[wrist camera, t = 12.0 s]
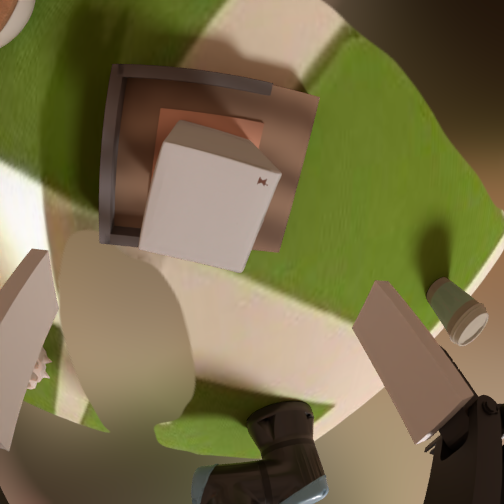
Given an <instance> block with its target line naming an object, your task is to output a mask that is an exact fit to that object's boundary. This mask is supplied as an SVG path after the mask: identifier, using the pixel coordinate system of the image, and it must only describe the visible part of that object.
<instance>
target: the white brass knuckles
mask: <svg viewBox="0 0 504 504" xmlns="http://www.w3.org/2000/svg"><path fill="white" fill-rule="evenodd" d="M50 362H52V361H51V360H50V359H49V358H48V357H47V354H46V351H45V350H44V348H43V347H42V348H41V351H40V353H39V356H38V359H37V361H36V364H35V366H34V369H33V372H32V375H31V377H30V380H29V383H28V386H27V389H34V388H35V387H36V384H37V382H40V381H41V379H42V378H50V377H49V376H48V374H47V373H46V371H45V369H46V366H45V364H46V363H50Z"/></svg>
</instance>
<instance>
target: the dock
mask: <svg viewBox="0 0 504 504" xmlns="http://www.w3.org/2000/svg"><path fill="white" fill-rule="evenodd" d="M319 98H320V97H317V96H313V95H310V94H306V93H303V92H299V91H295V90H291V89H287V88H283V87H279V86H275V85H273V83H269V82H265V81H260V80H256V79H251V78H246V77H240V76H235V75H229V74H223V73H217V72H210V71H203V70H196V69H187V68H178V67H167V66H154V65H136V64H112V68H111V74H110V80H109V86H108V92H107V99H106V107H105V115H104V124H103V134H102V145H101V160H100V180H99V240H100V243H102V244H112V245H121V246H131V247H138V246H139V239H140V233H141V227H142V222H143V217H144V212H145V207H146V202H147V198H148V193H149V189H150V185H151V181H152V177H153V173H154V169H155V166H156V162H157V159H158V155H159V152H160V149H161V146H162V143H163V141H164V140H165V139H166V137H167V136H168V135H169V133H170V132H171V131H172V129H173V128H174V126H175V125H176V124H177V122H178V121H179V120H184V121H188V122H192V123H196V124H199V125H203V126H206V127H210V128H214V129H217V130H220V131H223V132H227V133H230V134H233V135H236V136H239V137H242V138H245V139H248V140H250V141H251V142H252V143H253V144H254V145H255V146H256V147H257V148H258V149H259V150H260V151H261V152H262V153H263V154H264V155H265V156H266V157H267V158H268V159H269V160H270V161H271V162H272V163H273V164H274V165H275V166H276V167H277V168H278V169H279V170H280V172H281V173H282V175H281V178H280V180H279V182H278V184H277V187H276V189H275V192H274V194H273V197H272V199H271V202H270V204H269V207H268V209H267V212H266V214H265V217H264V221H263V223H262V225H261V228H260V230H259V232H258V234H257V237H256V240H255V242H254V245H253V247H252V250H260V251H270V252H279V250H280V247H281V243H282V240H283V236H284V232H285V229H286V225H287V222H288V218H289V214H290V211H291V207H292V203H293V200H294V196H295V192H296V188H297V185H298V181H299V177H300V173H301V169H302V166H303V162H304V158H305V154H306V150H307V146H308V142H309V139H310V135H311V131H312V127H313V123H314V119H315V115H316V111H317V107H318V103H319Z"/></svg>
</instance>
